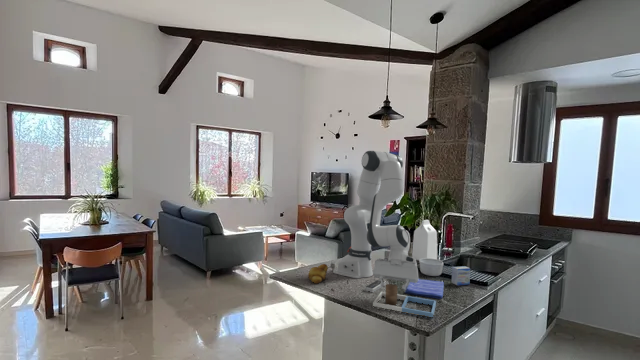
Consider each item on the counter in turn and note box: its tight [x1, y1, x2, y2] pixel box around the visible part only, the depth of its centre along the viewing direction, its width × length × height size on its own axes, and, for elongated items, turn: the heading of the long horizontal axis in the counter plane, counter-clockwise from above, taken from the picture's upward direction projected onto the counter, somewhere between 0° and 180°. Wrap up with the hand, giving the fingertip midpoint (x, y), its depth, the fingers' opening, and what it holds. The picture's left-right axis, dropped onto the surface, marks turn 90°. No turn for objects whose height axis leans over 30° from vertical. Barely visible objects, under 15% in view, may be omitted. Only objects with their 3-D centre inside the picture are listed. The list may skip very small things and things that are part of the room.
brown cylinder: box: [384, 283, 398, 306], centre depth 148 cm, size 5×5×8 cm
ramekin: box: [418, 258, 444, 277], centre depth 194 cm, size 13×13×7 cm
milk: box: [411, 219, 438, 261], centre depth 224 cm, size 12×12×26 cm
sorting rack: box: [372, 291, 437, 318], centre depth 146 cm, size 24×15×2 cm, turn 66°
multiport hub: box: [364, 279, 387, 293], centre depth 169 cm, size 4×14×2 cm, turn 144°
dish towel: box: [404, 278, 445, 300], centre depth 169 cm, size 17×24×3 cm
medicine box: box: [451, 265, 471, 286], centre depth 177 cm, size 8×4×9 cm, turn 105°
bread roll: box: [307, 263, 329, 284], centre depth 177 cm, size 13×10×8 cm
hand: (393, 288), depth 149 cm, fingers open, 8 cm apart
